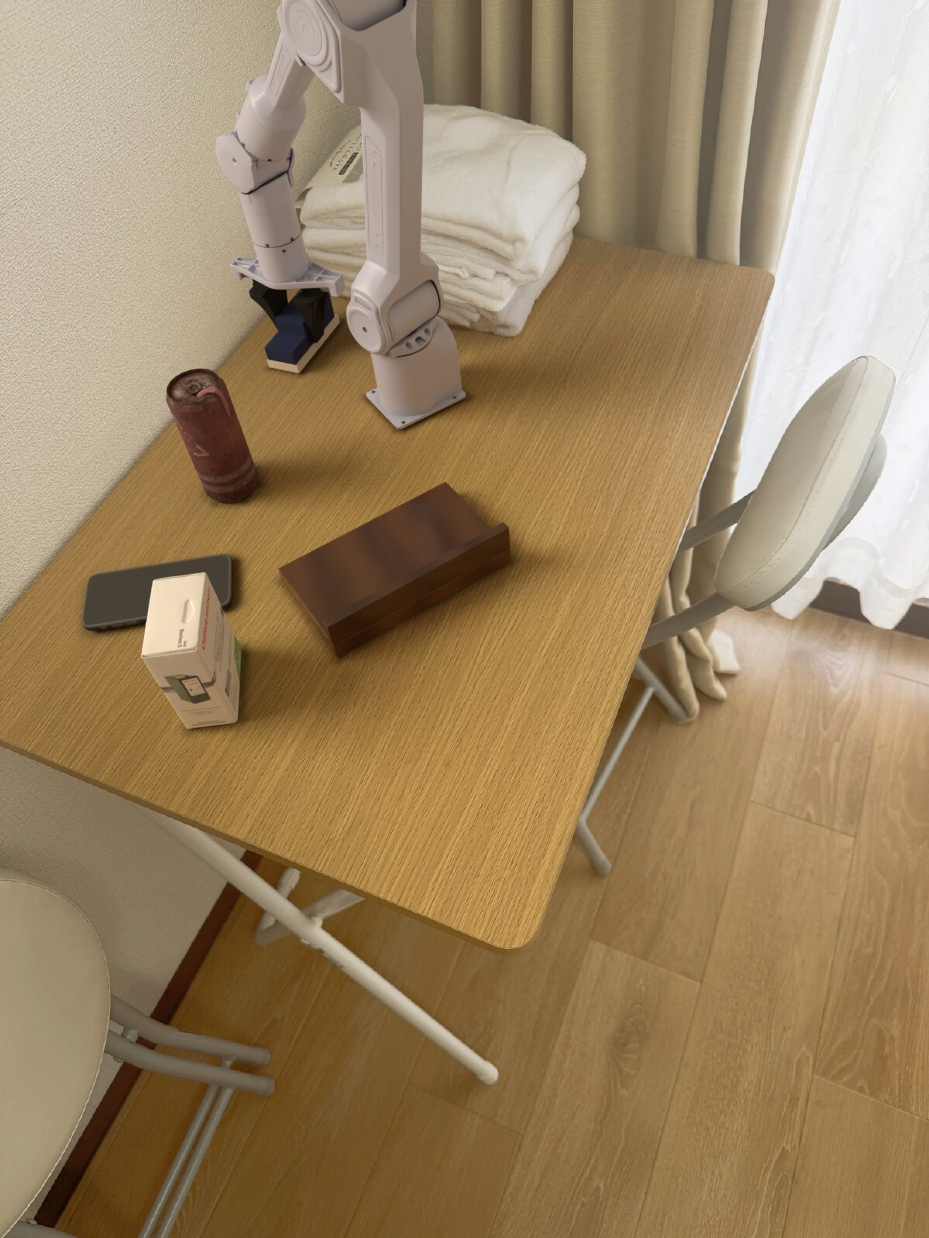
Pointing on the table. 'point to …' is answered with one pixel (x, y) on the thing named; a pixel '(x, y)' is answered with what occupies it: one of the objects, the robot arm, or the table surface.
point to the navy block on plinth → (296, 338)
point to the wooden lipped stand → (394, 567)
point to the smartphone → (147, 589)
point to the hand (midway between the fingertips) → (302, 335)
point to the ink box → (193, 650)
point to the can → (212, 434)
